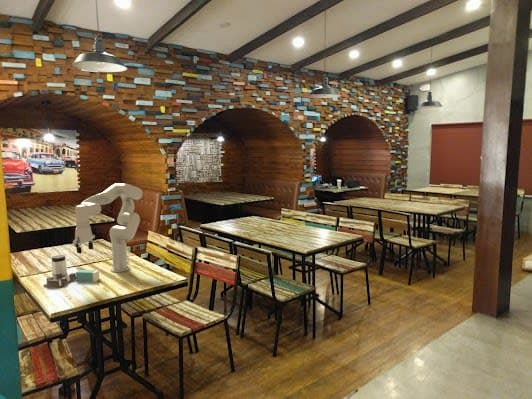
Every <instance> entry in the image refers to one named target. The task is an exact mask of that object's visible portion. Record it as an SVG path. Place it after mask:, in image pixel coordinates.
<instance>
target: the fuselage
mask: <svg viewBox="0 0 532 399" xmlns="http://www.w3.org/2000/svg"><path fill="white" fill-rule="evenodd" d="M75 273H76V279H75V281H76V282H92V283H93V282H94V283H96V282H97V281H99V280H100V271H99V270H96V269H95V270H93V269H79V270H76V272H75Z"/></svg>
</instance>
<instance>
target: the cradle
mask: <svg viewBox="0 0 532 399" xmlns="http://www.w3.org/2000/svg"><path fill="white" fill-rule="evenodd" d="M73 281H76V272H71V273H69V275H68V274H63V275H62V273H60V272H58V273H56V275H55V278H54V276H49V277H47V278H46V283H45V284H43V287H44V288H63V287H65V286H67V285H68V284H71V283H72V282H73Z"/></svg>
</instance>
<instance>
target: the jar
mask: <svg viewBox="0 0 532 399" xmlns="http://www.w3.org/2000/svg"><path fill="white" fill-rule="evenodd" d="M50 263H51V271H52V272H51V274H52V275H53V276H56V273H58V272H60V273H62V275H66V274H67V273H68V269H67V268H68V267H67V259H66V256H65V255H64V254H60V255H59V254H57V255H53V256H51V262H50Z"/></svg>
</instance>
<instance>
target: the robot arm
mask: <svg viewBox="0 0 532 399" xmlns="http://www.w3.org/2000/svg"><path fill="white" fill-rule="evenodd" d="M119 197H120V198H121V201H122V205H121V209H120V211H119V214H118V216H117V219H116V222H117V224H119V225H113V226H112V227H110V229H109V237H110V241H111V251H112V254H111V256H112V267H111V268H110V271H111V272H112V273H123V272H127V271H130V269H131V267H130V266H129V265H128V264H129V263H130V261H129V260H128V255H127V254H128V253H127V252H128V251H127V243H126V241H131V240H133V239H134V237H135V236H136V233H137V230H138V227H139V225H140V220H141V218H140V215H139V214H138V213H137V212H134V211H135V203H134V200H136V201H138V200H140V199H142V197H143V190H142V189H141V188H140V187H138V186H135V185H132V184H129V183H119V182H118V183H117V182H116V183H114V184H112V185H111V186H109V187H107V188H106V189H105V190H104V191H103V192H101V193H97V194H94V195H93V196H89V197H87V198H86V199H84V200H83V201H82V202H81V203H80V204H78V205H76V206H75V207H74V210H75V222H76V223H75V224H76V227H75V230H74V231H75V232H74V239H73V241H72V244H73V246H74V247H75V248H76V253H77V254H82V247H81V246H82V244H86V243H87V247H88V249H89V250H94V241H95V238H96V235H95V234H93V232H92V227H91V225H90V223H91V221H90V216H98V215H99V214H100V213H101V212H102V206H103V205H107V204H111V203H112V202H113V201H114V200H116V199H117V198H119Z"/></svg>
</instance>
